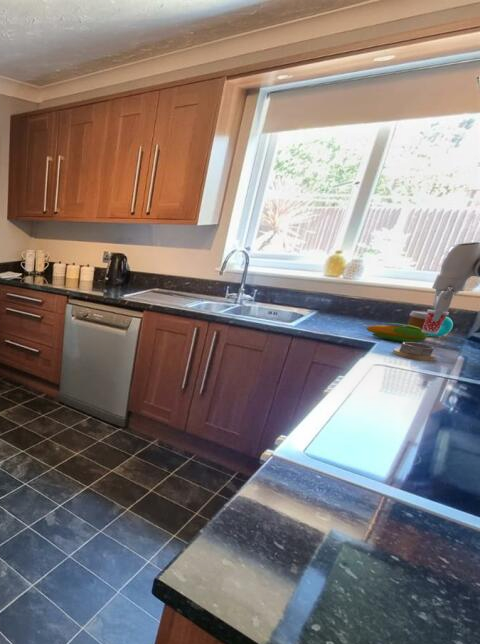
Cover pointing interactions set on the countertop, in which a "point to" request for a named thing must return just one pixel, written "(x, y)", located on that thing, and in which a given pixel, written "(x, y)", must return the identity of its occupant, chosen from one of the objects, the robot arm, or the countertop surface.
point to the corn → (398, 333)
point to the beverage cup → (433, 322)
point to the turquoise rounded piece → (443, 328)
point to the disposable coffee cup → (417, 319)
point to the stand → (415, 351)
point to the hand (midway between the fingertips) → (434, 319)
